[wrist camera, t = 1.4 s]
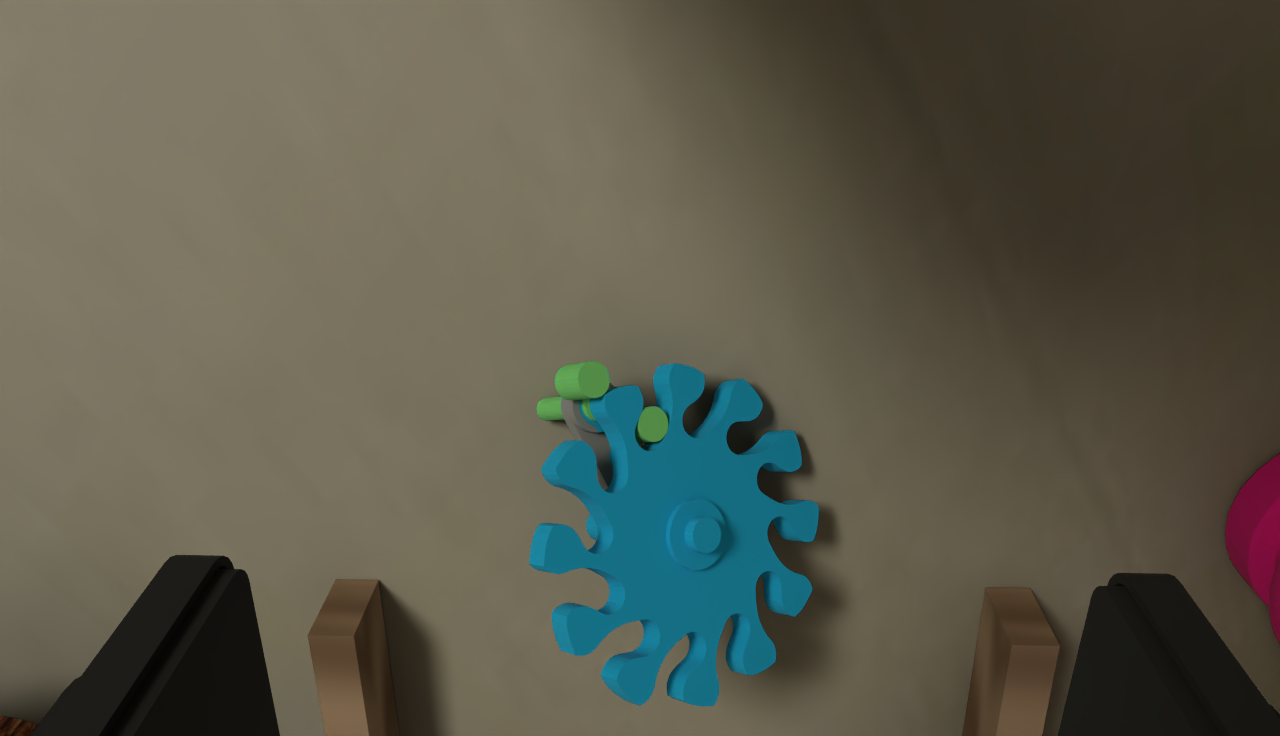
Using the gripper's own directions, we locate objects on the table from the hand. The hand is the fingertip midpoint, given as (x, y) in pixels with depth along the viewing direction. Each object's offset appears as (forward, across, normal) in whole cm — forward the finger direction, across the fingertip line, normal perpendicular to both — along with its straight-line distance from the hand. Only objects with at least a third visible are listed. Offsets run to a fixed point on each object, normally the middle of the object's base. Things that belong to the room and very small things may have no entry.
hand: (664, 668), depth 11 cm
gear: (+20, 0, +9) cm, 22 cm away
